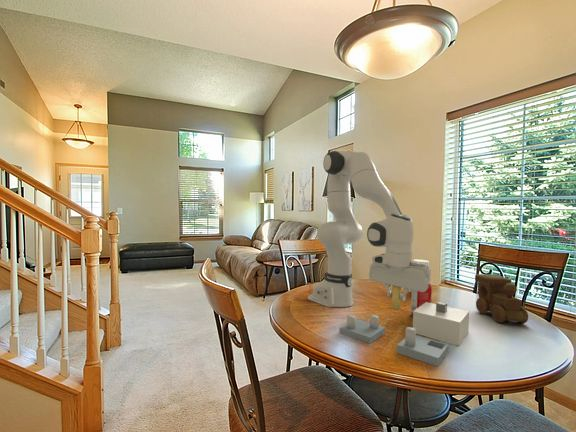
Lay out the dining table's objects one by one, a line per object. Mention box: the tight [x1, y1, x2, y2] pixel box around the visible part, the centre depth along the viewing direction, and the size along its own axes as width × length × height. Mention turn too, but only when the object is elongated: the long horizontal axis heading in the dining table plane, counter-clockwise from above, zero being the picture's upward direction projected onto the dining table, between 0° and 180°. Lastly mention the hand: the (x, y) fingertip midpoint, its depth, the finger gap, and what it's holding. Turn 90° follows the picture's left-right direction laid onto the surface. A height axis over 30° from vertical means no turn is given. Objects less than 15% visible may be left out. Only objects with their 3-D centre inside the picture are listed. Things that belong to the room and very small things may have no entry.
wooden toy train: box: [474, 273, 529, 324], centre depth 127 cm, size 20×11×17 cm, turn 0°
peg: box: [390, 285, 402, 311], centre depth 106 cm, size 3×3×8 cm
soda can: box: [410, 281, 433, 316], centre depth 126 cm, size 8×8×15 cm
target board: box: [396, 326, 450, 367], centre depth 94 cm, size 12×12×8 cm
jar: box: [409, 258, 432, 293], centre depth 162 cm, size 10×10×18 cm
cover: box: [412, 301, 470, 347], centre depth 110 cm, size 15×15×11 cm
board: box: [338, 314, 386, 344], centre depth 108 cm, size 12×12×6 cm
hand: (396, 298), depth 106 cm, fingers closed on peg, 3 cm apart
